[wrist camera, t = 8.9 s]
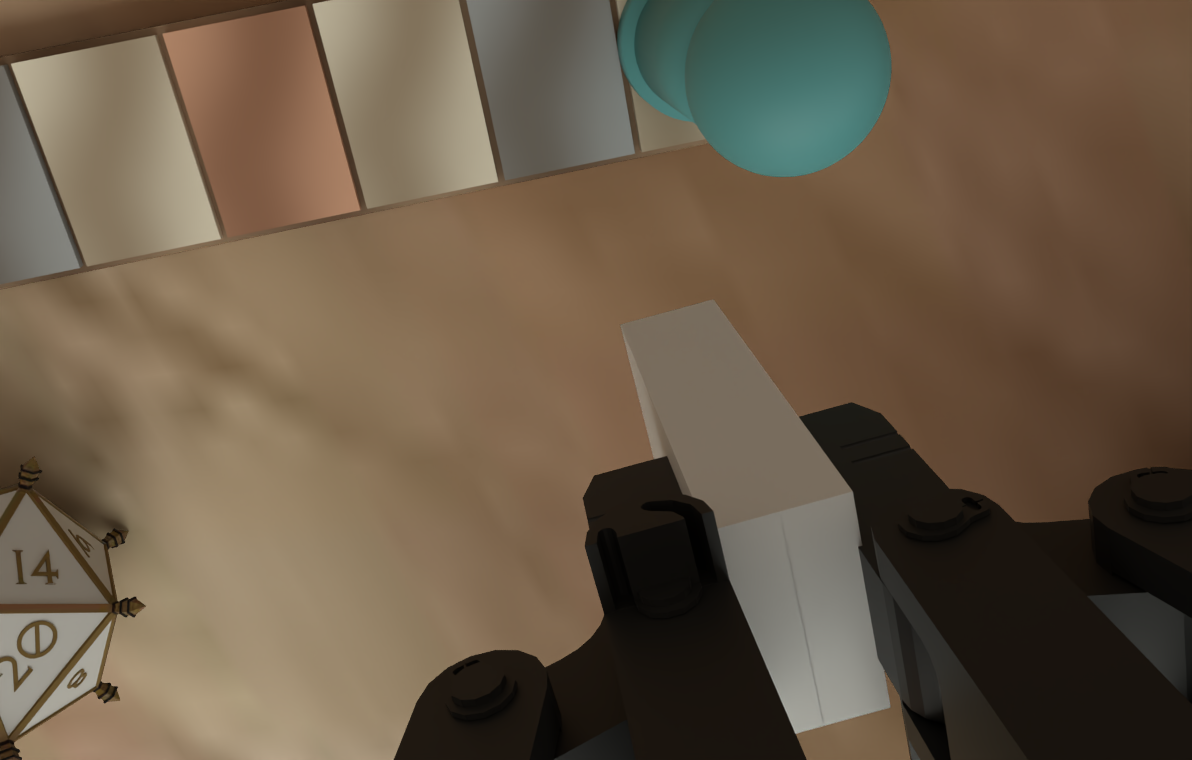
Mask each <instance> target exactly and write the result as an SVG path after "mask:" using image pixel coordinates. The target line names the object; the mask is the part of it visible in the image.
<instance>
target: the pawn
mask: <svg viewBox="0 0 1192 760" xmlns="http://www.w3.org/2000/svg"><path fill="white" fill-rule="evenodd" d="M617 47H618V55H619V59H620V64H621V66H622V69H623V72H624V74H625V76H626V78H627V80H628V82H629V83H630V85H631V86H632V87H633V89H634V90H635V91H636V92H637V93H638V94H639V96H640V97H641V98H643V99H644V100H645V101H646V102H647V103H649V104H650V105H651V106H652V107H654V108H655V109H656V110H658V111H660V112H661V113H663V114H665V115H667V116H669V117H672V118H675V119H678V120H682V121H689V122H693V123H695V124H696V125H697V127H698V129H699V130H700V132H701V133H702V134H703V136H704V137H705V139H706V140H707V141H708V143H709V144H710V145H711V146H712V147H713V148H714V149H715V150H716V151H717V152H718V153H719V154H720V155H722V156H723V157H724V158H725V159H727V160H728V161H730V162H732V163H733V164H735V165H737V166H739V167H741V168H743V169H746V170H748V171H750V172H753V173H757V174H761V175H765V176H773V177H794V176H801V175H806V174H810V173H813V172H817V171H819V170H822V169H824V168H826V167H829V166H831V165H832V164H834V163H836V162H838V161H839V160H841V159H842V158H844V157H845V156H846V155H848V154H849V153H850V152H852V151H853V150H854V149H855V148H856V147H857V146H858V145H859V144H860V143H861V142H862V141H863V140H864V139H865V137H866V136H867V135H868V134H869V133H870V131H871V130H872V128H873V127H874V125H875V123H876V122H877V120H878V118H879V116H880V114H881V112H882V110H883V107H884V105H885V102H886V99H887V95H888V91H889V87H890V80H891V53H890V46H889V42H888V38H887V35H886V31H885V29H884V26H883V24H882V22H881V19H880V17H879V16H878V14H877V12H876V11H875V9H874V7H873V6H872V5H871V4H870V2H869V1H868V0H627V2H626V4H625V6H624V8H623V11H622V13H621V17H620V21H619V26H618V33H617Z"/></svg>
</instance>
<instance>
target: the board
mask: <svg viewBox="0 0 1192 760" xmlns="http://www.w3.org/2000/svg"><path fill="white" fill-rule="evenodd" d="M626 2H627V0H286V1H281V2H276V3H271V4H266V5H261V6H256V7H251V8H246V9H241V10H236V11H230V12H225V13H220V14H215V15H210V16H205V17H200V18H195V19H190V20H185V21H180V22H175V23H170V24H165V25H160V26H155V27H150V28H145V29H140V30H135V31H129V32H124V33H119V34H114V35H109V36H104V37H99V38H94V39H89V40H84V41H79V42H74V43H69V44H64V45H59V46H54V47H49V48H44V49H39V50H34V51H28V52H23V53H18V54H13V55H8V56H3V57H0V289H5V288H10V287H15V286H20V285H25V284H29V283H34V282H39V281H44V280H49V279H54V278H58V277H63V276H68V275H73V274H78V273H83V272H88V271H92V270H97V269H102V268H107V267H112V266H117V265H122V264H126V263H131V262H136V261H141V260H146V259H151V258H155V257H160V256H165V255H170V254H175V253H180V252H185V251H189V250H194V249H199V248H204V247H209V246H214V245H219V244H223V243H228V242H233V241H238V240H243V239H248V238H252V237H257V236H262V235H267V234H272V233H277V232H282V231H286V230H291V229H296V228H301V227H306V226H311V225H316V224H320V223H325V222H330V221H335V220H340V219H345V218H349V217H354V216H359V215H364V214H369V213H374V212H379V211H383V210H388V209H393V208H398V207H403V206H408V205H413V204H417V203H422V202H427V201H432V200H437V199H442V198H446V197H451V196H456V195H461V194H466V193H471V192H476V191H480V190H485V189H490V188H495V187H500V186H505V185H510V184H514V183H519V182H524V181H529V180H534V179H539V178H544V177H548V176H553V175H558V174H563V173H568V172H573V171H577V170H582V169H587V168H592V167H597V166H602V165H607V164H611V163H616V162H621V161H626V160H631V159H636V158H641V157H645V156H650V155H655V154H660V153H665V152H670V151H674V150H679V149H684V148H689V147H694V146H699V145H704V144H708V141H707V140H706V139H705V137H704V136H703V134H702V133H701V132H700V130H699V129H698V127H697V125H696V124H695V123H693V122H689V121H682V120H678V119H675V118H672V117H669V116H667V115H665V114H663V113H661V112H660V111H658V110H656V109H655V108H654V107H652V106H651V105H650V104H649V103H647V102H646V101H645V100H644V99H643V98H641V97H640V96H639V94H638V93H637V92H636V91H635V90H634V89H633V87H632V86H631V85H630V83H629V82H628V80H627V78H626V76H625V74H624V72H623V69H622V66H621V64H620V59H619V55H618V47H617V33H618V26H619V21H620V17H621V13H622V11H623V8H624V6H625V4H626Z"/></svg>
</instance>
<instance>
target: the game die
mask: <svg viewBox="0 0 1192 760" xmlns="http://www.w3.org/2000/svg"><path fill="white" fill-rule="evenodd" d="M41 472H42V471H41V470H40V469H39V467H38V464H37V461H36V459H35V456H34V457H33V458H32V459H30V460H29V461H28V462H27V463H25V464H24V465H21V472H19V479H20V482H19V484H17V485H14V486H10V487H7V488H3V489H0V760H22V757H19V754H18V753H19V752H20V750H19V749H16V747H15V746H14V742H15V741H17V740H18V739H20V738H21V737H23V736H24V735H26V734H28V733H29V732H31V731H32V730H34V729H35V728H37V727H38V726H40V725H41V724H43V723H44V722H46V721H48V720H49V719H51V718H52V717H54V716H55V715H57V714H58V713H60V712H61V711H63V710H64V709H66V708H67V707H69V706H71V705H72V704H74V703H75V702H77V701H78V700H80V699H81V698H83V697H84V696H86V695H87V694H89V693H91V692H95V693H96V694H97V696H98V699H100V698H101V699H103V701H104V703H106V702H109V701H120V698H119V695H118V692H117V688H118V687H117V686H111V683H102V682H101V678H102V674H103V670H104V666H105V662H106V658H107V654H108V650H109V646H110V641H111V637H112V633H113V629H114V625H115V621H116V617H117V614H121V615H122V616H124V617H127V616H128V615H130V616H132V617H135V616H136V614H137V613H138V612H139V611H141V610H142V609H143V608H144V607H146V606H145V605H144V604H143V603H141V602H140V601H138V600H137V599H136V597H133V598H131V599H128V598H125V599H123V600H121V601H120V602H118V601H117V596H116V590H115V585H114V580H113V575H112V569H111V564H110V559H109V554H108V549H109V548H110V547H111V548H114V547H118V545H119V544H124V543H125V541H124V540H125V538H126V536H127V534H128V531H124V530H116V529H115V528H114V529H113V531H112V532H111V533H109V532H108V533H107V535H106V537H105V538H104V539H102V540H101V539H99V538H98V537H97V536H95V535H94V534H93V533H91V532H90V531H89V530H87V529H86V528H85V527H83V526H82V525H81V524H79V523H78V522H77V521H75V520H74V519H73V518H71V517H70V516H69V515H67V514H66V513H65V512H63V511H62V510H61V509H59V508H58V507H57V506H55V505H54V504H53V503H51V502H50V501H49V500H47V499H46V498H45V497H43V496H42V495H41V494H39V493H38V492H37V491H35V490H34V489H33V488H32V485H33V483H34V482H35V481H37V480H39V478H38V474H39V473H41Z"/></svg>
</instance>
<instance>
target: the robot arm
mask: <svg viewBox="0 0 1192 760" xmlns="http://www.w3.org/2000/svg"><path fill="white" fill-rule="evenodd" d="M620 326H621V330H622V334H623V338H624V341H625V345H626V349H627V353H628V357H629V361H630V365H631V369H632V373H633V377H634V381H635V385H636V389H637V393H638V397H639V401H640V405H641V409H642V413H643V417H644V421H645V425H646V429H647V433H648V437H649V441H650V445H651V449H652V453H653V457H654V459H653V460H650V461H646V462H643V463H639V464H635V465H632V466H628V467H624V468H621V469H617V470H613V471H610V472H606V473H602V474H599V475H595V476H594V477H593V479H592V481H591V483H590V485H589V487H588V489H587V491H586V493H585V495H584V497H583V501H584V506H585V510H586V515H587V519H588V524H589V531H588V532H587V535H586V542H585V549H586V552H587V556H588V559H589V563H590V566H591V570H592V573H593V577H594V580H595V584H596V587H597V590H598V594H599V597H600V601H601V604H602V608H603V611H604V617H603V620H602V622H601V625H600V626H599V628H598V629H597V630H596V632H595V633H594V634H593V636H592V637H591V638H590V639H589V640H588V641H587V642H585V643H584V644H583V645H582V646H581V647H580V648H579V649H577V650H576V651H574V652H572V653H571V654H569V655H568V656H566V657H564V658H563V659H561V660H559V661H557V662H555V663H553V664H551V665H549V666H547V667H546V668H545V667H544V666H543V665H542V663H541V662H540V661H539V660H538V659H537V657H535V656H532V655H529V654H527V653H524V652H521V651H519V650H494V651H490V652H486V653H482V654H478V655H474V656H470V657H468V658H466V659H464V660H462V661H460V662H458V663H456V664H454V665H452V666H450V667H448V668H447V669H446V670H444V671H443V672H442V673H441V674H440V675H438V676H437V677H436V678H435V679H434V680H433V681H431V682H430V683H429V684H428V685H427V687H426V689H425V690H424V692H423V693H422V695H421V696H420V698H419V699H418V701H417V703H416V705H415V708H414V710H413V713H412V715H411V718H410V720H409V723H408V725H407V728H406V730H405V733H404V735H403V738H402V741H401V743H400V746H399V748H398V751H397V753H396V756H395V758H394V760H806V757H805V755H804V753H803V750H802V748H801V746H800V743H799V741H798V739H797V736H796V733H800V732H804V731H807V730H811V729H814V728H818V727H822V726H825V725H829V724H832V723H836V722H840V721H843V720H847V719H851V718H854V717H858V716H861V715H865V714H869V713H872V712H876V711H879V710H883V709H887V708H890V701H889V696H888V690H887V684H886V678H885V673H884V670H885V672H886V673H887V675H888V677H889V678H890V680H891V682H892V683H893V685H894V687H895V689H896V690H897V692H898V694H899V695H900V700H901V706H902V712H903V718H904V724H905V730H906V736H907V741H908V747H909V753H910V759H911V760H1192V470H1186V469H1175V468H1168V467H1151V469H1148V468H1143V469H1137V470H1133V471H1130V472H1126V473H1123V474H1120V475H1116V476H1113V477H1111V478H1109V479H1108V480H1106V481H1105V482H1103V483H1102V484H1100V485H1099V486H1097V487H1096V488H1095V489H1094V491H1093V493H1092V495H1091V497H1090V499H1089V501H1088V504H1089V517H1090V519H1083V520H1070V521H1058V522H1042V523H1021V522H1015V521H1014V520H1013V519H1012V518H1011V517H1010V516H1009V515H1008V514H1007V513H1006V512H1005V511H1004V510H1003V509H1002V508H1001V507H1000V506H999V505H998V504H997V503H995V502H993V501H992V500H990V499H989V498H987V497H986V496H984V495H981V494H978V493H974V492H970V491H966V490H962V489H949V488H948V487H947V486H946V485H945V483H944V482H943V481H942V480H941V479H940V478H939V477H938V476H937V475H936V474H935V472H934V471H933V470H932V469H931V468H930V467H929V466H928V465H927V464H926V463H925V461H924V460H923V459H922V458H921V457H920V456H919V455H918V454H917V453H916V452H915V451H914V449H911V448H910V445H909V444H908V443H907V442H906V441H905V440H904V438H903V437H902V436H901V435H900V434H899V435H898V434H897V431H896V430H895V429H894V427H893V426H892V425H891V424H890V423H889V422H888V421H887V420H886V419H885V418H884V416H883V415H882V414H881V413H878V412H875V411H873V410H870V409H868V408H865V407H862V406H860V405H857V404H855V403H852V402H851V403H848V404H844V405H840V406H837V407H833V408H829V409H826V410H822V411H818V412H815V413H811V414H808V415H804V416H800V417H798V415H797V414H796V413H795V411H794V410H793V408H792V407H791V406H790V404H789V403H788V401H787V400H786V399H785V397H784V396H783V395H782V393H781V392H780V390H779V389H778V388H777V386H776V385H775V384H774V382H773V381H772V379H771V378H770V377H769V375H768V374H767V373H766V371H765V370H764V368H763V367H762V366H761V364H760V363H759V361H758V360H757V359H756V357H755V356H754V355H753V353H752V352H751V350H750V349H749V348H748V346H747V345H746V344H745V342H744V341H743V339H742V338H741V337H740V335H739V334H738V332H737V331H736V330H735V328H734V327H733V326H732V324H731V323H730V321H729V320H728V319H727V317H726V316H725V315H724V313H723V312H722V310H721V309H720V308H719V306H718V305H717V304H716V302H715V301H714V299H713V300H709V301H705V302H702V303H698V304H694V305H691V306H687V307H683V308H680V309H676V310H672V311H668V312H665V313H661V314H657V315H654V316H650V317H646V318H643V319H639V320H635V321H632V322H628V323H624V324H621V325H620Z"/></svg>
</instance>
